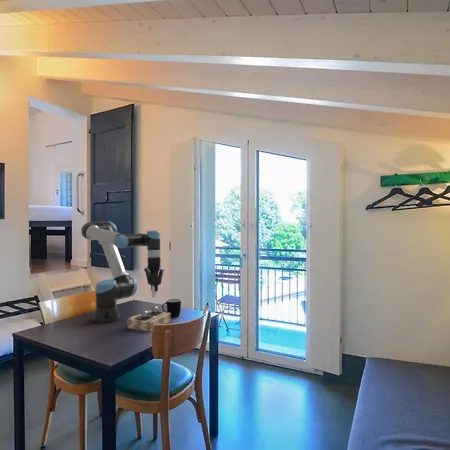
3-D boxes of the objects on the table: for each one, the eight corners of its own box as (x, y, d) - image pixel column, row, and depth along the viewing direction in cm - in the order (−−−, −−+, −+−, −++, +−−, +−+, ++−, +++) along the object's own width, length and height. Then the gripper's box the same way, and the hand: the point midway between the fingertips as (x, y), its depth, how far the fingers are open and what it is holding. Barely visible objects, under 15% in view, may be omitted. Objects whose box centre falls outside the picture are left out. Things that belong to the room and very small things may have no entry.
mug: (182, 314, 224) (182, 298, 224) (179, 318, 215) (179, 302, 215) (164, 313, 225) (164, 298, 225) (160, 318, 216) (159, 301, 216)
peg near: (139, 320, 198) (139, 311, 198) (143, 318, 201) (143, 310, 201) (144, 320, 197) (144, 312, 197) (148, 319, 200) (148, 310, 200)
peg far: (150, 315, 207) (150, 307, 207) (153, 313, 211) (153, 305, 210) (155, 316, 206) (155, 308, 206) (158, 314, 209) (158, 306, 209)
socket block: (127, 327, 198) (127, 318, 198) (148, 318, 216) (148, 309, 216) (150, 331, 192) (150, 321, 191) (170, 321, 210) (170, 312, 210)
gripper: (140, 257, 206) (141, 297, 207) (159, 257, 201) (160, 298, 202) (148, 255, 213) (149, 294, 214) (166, 256, 208) (167, 296, 209)
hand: (154, 296), depth 208 cm, fingers closed
